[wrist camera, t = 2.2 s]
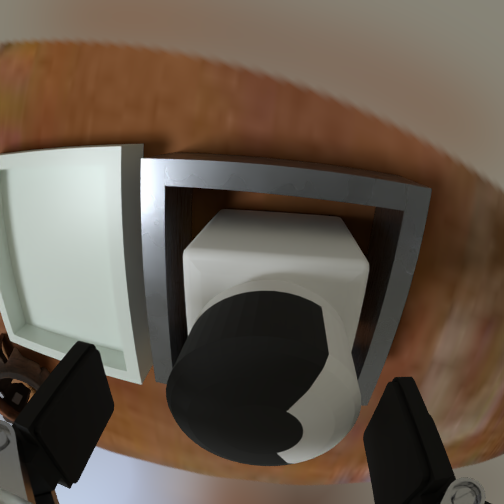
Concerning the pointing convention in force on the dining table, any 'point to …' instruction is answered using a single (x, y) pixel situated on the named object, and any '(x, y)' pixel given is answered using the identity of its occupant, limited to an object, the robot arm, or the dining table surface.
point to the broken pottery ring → (17, 393)
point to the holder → (292, 184)
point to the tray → (75, 254)
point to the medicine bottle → (269, 336)
